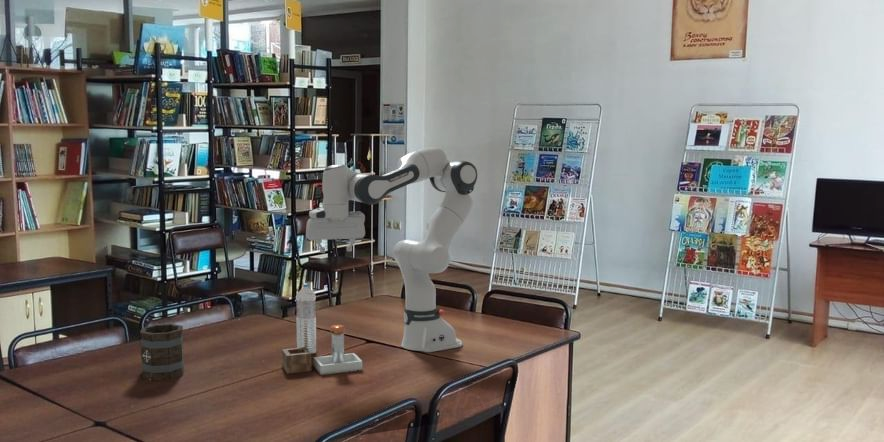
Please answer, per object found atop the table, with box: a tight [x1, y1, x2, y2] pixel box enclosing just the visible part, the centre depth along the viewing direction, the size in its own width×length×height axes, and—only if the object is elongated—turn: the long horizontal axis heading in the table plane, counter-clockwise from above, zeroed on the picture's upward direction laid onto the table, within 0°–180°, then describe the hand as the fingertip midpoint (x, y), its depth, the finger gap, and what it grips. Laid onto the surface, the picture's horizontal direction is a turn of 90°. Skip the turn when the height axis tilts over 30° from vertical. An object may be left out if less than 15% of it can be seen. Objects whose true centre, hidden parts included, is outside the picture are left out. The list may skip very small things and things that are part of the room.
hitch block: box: [281, 347, 312, 375], centre depth 255 cm, size 8×8×6 cm
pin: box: [329, 324, 346, 364], centre depth 255 cm, size 5×5×14 cm
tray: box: [313, 352, 363, 376], centre depth 256 cm, size 14×10×3 cm
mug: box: [139, 323, 185, 381], centre depth 250 cm, size 20×14×15 cm
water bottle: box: [295, 282, 317, 356], centre depth 272 cm, size 7×7×25 cm
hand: (335, 251), depth 265 cm, fingers open, 8 cm apart
